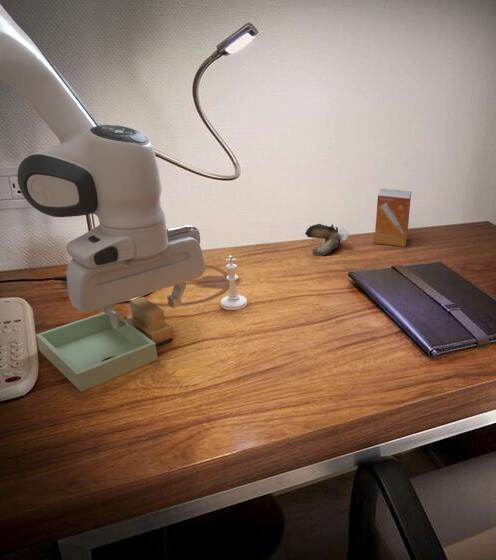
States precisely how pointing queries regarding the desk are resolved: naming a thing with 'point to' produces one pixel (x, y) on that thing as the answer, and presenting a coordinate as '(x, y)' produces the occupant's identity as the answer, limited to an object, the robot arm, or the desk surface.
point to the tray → (95, 350)
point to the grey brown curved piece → (326, 237)
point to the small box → (392, 217)
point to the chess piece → (233, 289)
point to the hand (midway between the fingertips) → (147, 315)
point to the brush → (150, 321)
